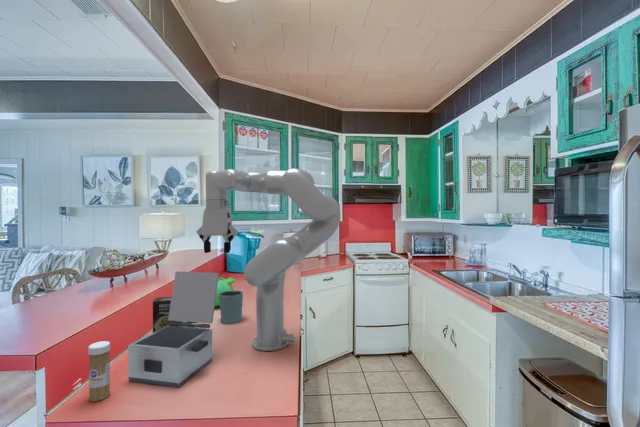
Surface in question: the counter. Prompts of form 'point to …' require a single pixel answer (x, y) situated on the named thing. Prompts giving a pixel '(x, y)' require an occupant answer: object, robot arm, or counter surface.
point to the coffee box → (161, 313)
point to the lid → (193, 299)
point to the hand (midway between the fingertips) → (217, 252)
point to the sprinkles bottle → (99, 370)
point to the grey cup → (231, 306)
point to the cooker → (170, 356)
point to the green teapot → (223, 287)
